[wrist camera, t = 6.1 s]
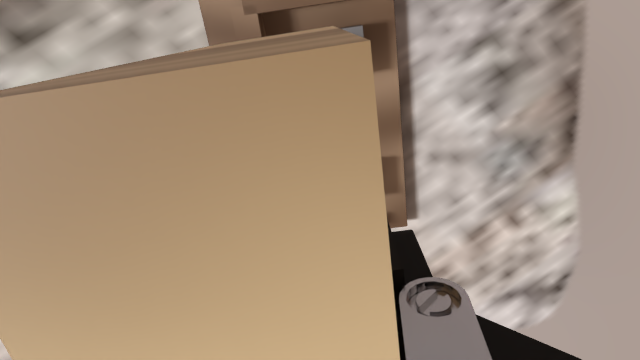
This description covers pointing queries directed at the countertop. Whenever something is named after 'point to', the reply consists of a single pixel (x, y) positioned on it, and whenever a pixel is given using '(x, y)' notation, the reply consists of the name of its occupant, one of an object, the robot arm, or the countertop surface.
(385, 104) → the cabinet base
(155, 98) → the door panel
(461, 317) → the robot arm
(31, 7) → the countertop surface
